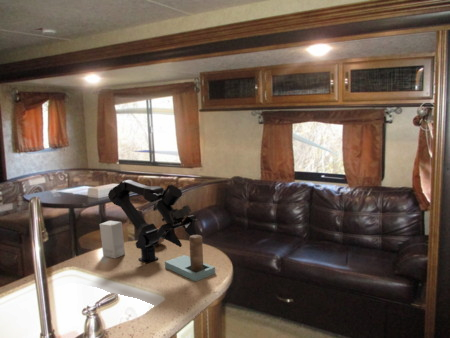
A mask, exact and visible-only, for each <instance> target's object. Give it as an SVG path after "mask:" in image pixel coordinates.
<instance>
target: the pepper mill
mask: <svg viewBox="0 0 450 338" xmlns="http://www.w3.org/2000/svg"><path fill="white" fill-rule="evenodd" d="M188 240H189V254H190V255H189V257H190V263H191V271H193V272H195V273H197V272H199V271H202V270H204V269H203V263H204V253H203V250H204V249H203V236H202V235H200V234H196V235H192V236H190V235H189V239H188Z"/></svg>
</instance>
